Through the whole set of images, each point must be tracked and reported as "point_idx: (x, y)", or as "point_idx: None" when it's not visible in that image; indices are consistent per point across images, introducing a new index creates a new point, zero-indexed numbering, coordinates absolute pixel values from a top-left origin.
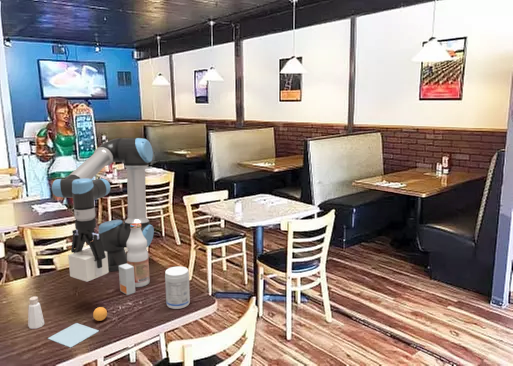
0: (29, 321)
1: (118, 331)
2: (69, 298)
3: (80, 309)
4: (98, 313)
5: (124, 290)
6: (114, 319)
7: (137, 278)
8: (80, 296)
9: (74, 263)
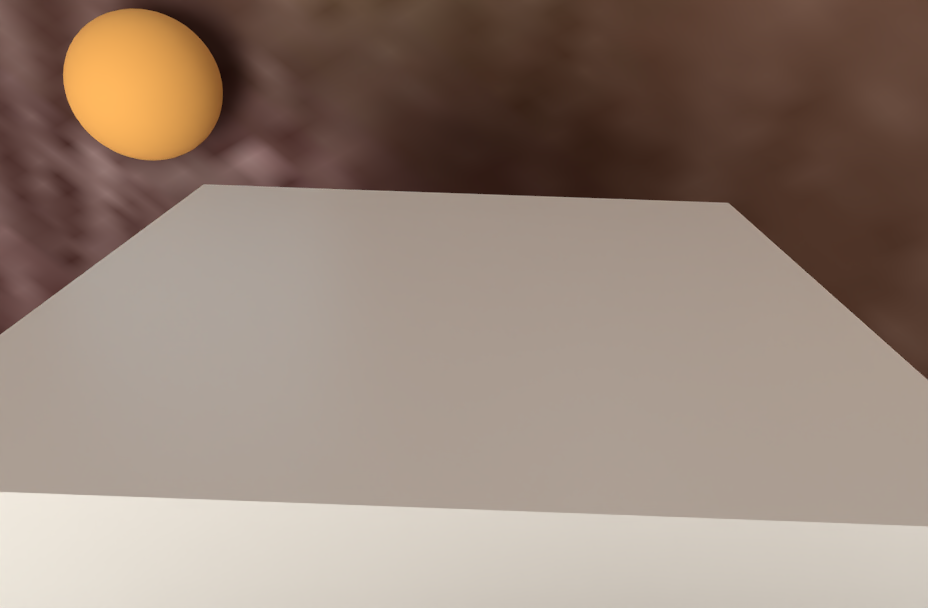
0: None
1: None
2: (835, 244)
3: (540, 135)
4: (78, 34)
5: None
6: (81, 151)
7: None
8: None
9: (597, 345)
